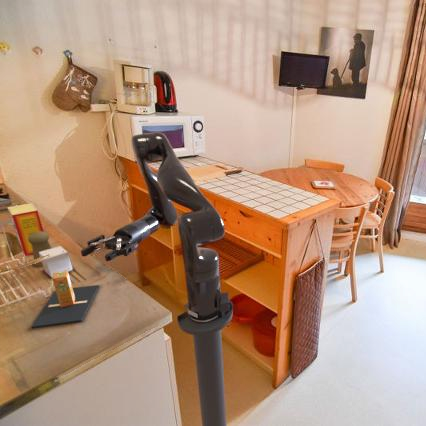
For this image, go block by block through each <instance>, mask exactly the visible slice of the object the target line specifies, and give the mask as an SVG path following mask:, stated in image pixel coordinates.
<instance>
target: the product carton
mask: <svg viewBox="0 0 426 426" xmlns="http://www.w3.org/2000/svg"><path fill="white" fill-rule="evenodd" d="M48 254H49V257H48V258H46V259H45V260H42V264H43V266H42V267H43V271H44V272H45V273H46V274H47V275H48V276H49V277H50V278H52V279H53V273H55V272H63V271H68V273H69V272H72V271H73V265H72V263H71V259H70V255H69V251H67V250H66V249H65V248H64V247H62V246H61V245H58V246H55V247H51V249H48V250H45V251H41V252H39V255H40V257H43V256H46V255H48Z"/></svg>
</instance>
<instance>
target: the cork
mask: <svg viewBox="0 0 426 426" xmlns="http://www.w3.org/2000/svg"><path fill="white" fill-rule="evenodd" d="M49 239H50V236H49V234H48V233H47V231H44V232H41V231H40V232H35V233H32V234H30V235H29V237H28V241H29V242H30V243H31V244H32V248H33V254H32V255H33V257H32V258H33V260H34V259H37V258H39V257H40V255H39V252H41V251H45V250H48V249H51V248H52V245H51V244H50V242H49ZM33 264H34V263H33ZM34 266H35V267H43V264H42V261H41V262H39V263H36V264H34Z"/></svg>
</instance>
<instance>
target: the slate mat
mask: <svg viewBox="0 0 426 426" xmlns="http://www.w3.org/2000/svg"><path fill="white" fill-rule="evenodd" d="M72 288H73V292H74V295H75V302H74V305H70V306H65V307H60V304H59V300H58V297H57V293H56V290H55V291H54V292H53V294H52V296H51V297H50V298H49V300H48V301H47V303H46V304H45V305H44V307H43V309H42V310H41V312H40V313H39V314H38V316H37V318H35V320H34V322H33V323H32V325H31V329H38V328H46V327H52V326H59V325H61V326H62V325H67V324H75V323H83V320H84V318H85V317H86V314H87V312H88V310H89V308H90V306H91V304H92V302H93V300H94V298H95V296H96V294H97V291H98V290H99V288H100V285H99V284H98V285H87V286H77V287H72Z"/></svg>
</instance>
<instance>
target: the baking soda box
mask: <svg viewBox="0 0 426 426" xmlns="http://www.w3.org/2000/svg"><path fill="white" fill-rule="evenodd" d="M6 208H7V211H8V214H9V218H10V220H11V223H12V226H13V229H14V233H15V235H16V238H17V241H18V244H19V247H20V249H21V251H22V253H23V254H24V256H25V257H27V256H30V255H31V256H32V255H33V248H32V244H31V243H30V242H29V241H28V237H29V235H30V234H32V233H35V232H40V231H41V232H45V231H44V228H43V225H42V220H41V218H40V215H39V212H38V211H39V210H38V209H37V208H36V207H35V205H34V204H33V203H32V202H30V203H29V202H28V203H22V204H16V205H10V206H7V207H6Z"/></svg>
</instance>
